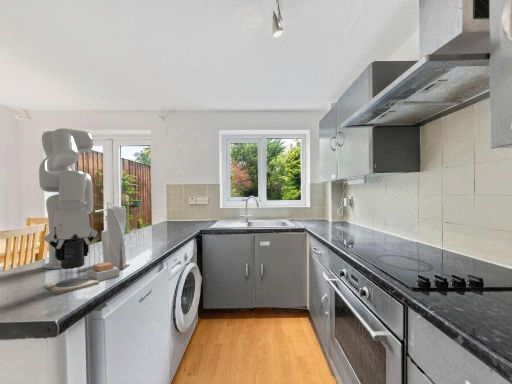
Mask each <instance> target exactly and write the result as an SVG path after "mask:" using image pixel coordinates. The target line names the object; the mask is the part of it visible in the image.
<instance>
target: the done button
mask: <svg viewBox="0 0 512 384" xmlns="http://www.w3.org/2000/svg"><path fill="white" fill-rule="evenodd" d="M92 269H93V270H94V271H97V272H102V271H106V270H111V269H113V264H112V263H109V262H100V263H97V264H96V263H95V264H92Z"/></svg>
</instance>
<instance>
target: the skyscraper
mask: <svg viewBox="0 0 512 384" xmlns="http://www.w3.org/2000/svg"><path fill="white" fill-rule="evenodd" d="M109 205H110V206H111V207H109ZM106 209H107V210H106V227H107V228H106V230H108V236H109V240H110V241H109V250H108V262H109V263H112V264H113V266H114V267H117V268H119V271H123V270H125V269H127V268H128V267H129V266H130V264H129V263H128V264H127V263H126V257H127V256H126V245H125V238H124V237H125V232H126V226H127V209H126V206H124V205H112V203H111V202H106Z"/></svg>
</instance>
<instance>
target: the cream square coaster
mask: <svg viewBox="0 0 512 384" xmlns="http://www.w3.org/2000/svg"><path fill="white" fill-rule="evenodd" d="M44 285H45V286H44V287H45V288H46V289H48V290H50V291H51V292H53V293H55V294H57V295H61V294H64V293H65V294H66V293H69V292H73V291H74V292H75V291H77V290H81V289H84V288H85V289H86V288H88V287H93V286H96V285H100V281H97V280H94V279H92V278H89V277H87V275H81V276H78V277H72V278H69V279H64V280H59V281H55V282H51V283H46V284H44Z"/></svg>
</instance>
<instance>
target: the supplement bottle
mask: <svg viewBox="0 0 512 384" xmlns="http://www.w3.org/2000/svg"><path fill="white" fill-rule="evenodd" d="M77 237H79V236H77V234H76V233H75V235H73V237H71V238H72V239H70V240H64V242H63V244H62V246H61V248H62V249H63V260H62V261H60V264H61V268H60V269H62V270H71V269H77V268H78V269H79V268H81V267H83V266H85V256H84V241H83V240H82V239H81V238H77Z"/></svg>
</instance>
